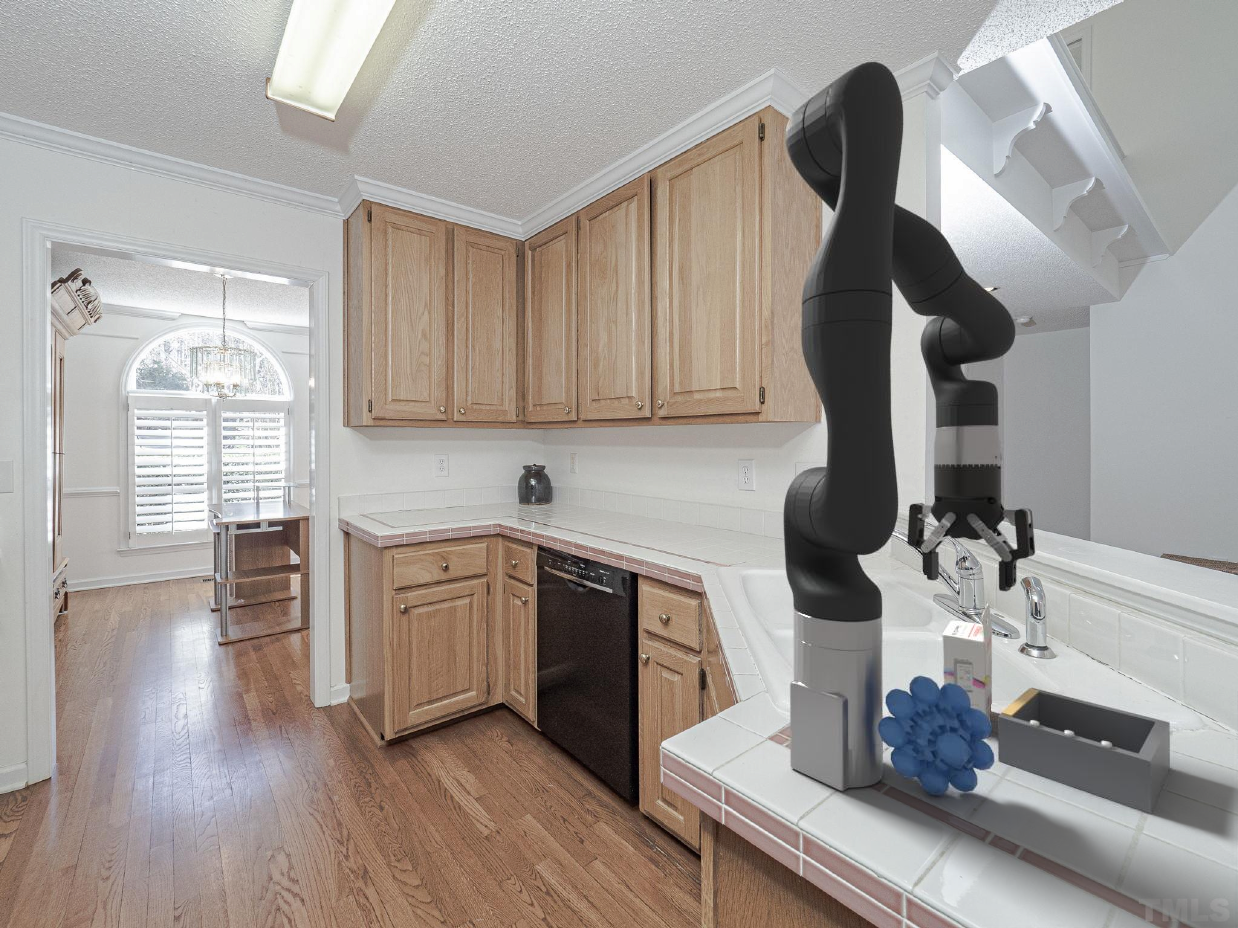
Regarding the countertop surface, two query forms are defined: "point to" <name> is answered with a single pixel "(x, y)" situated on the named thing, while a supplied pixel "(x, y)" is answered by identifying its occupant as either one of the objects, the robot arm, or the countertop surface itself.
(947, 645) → the ink cartridge box
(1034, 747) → the cartridge dock
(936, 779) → the blue flower
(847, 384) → the robot arm
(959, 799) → the countertop surface
